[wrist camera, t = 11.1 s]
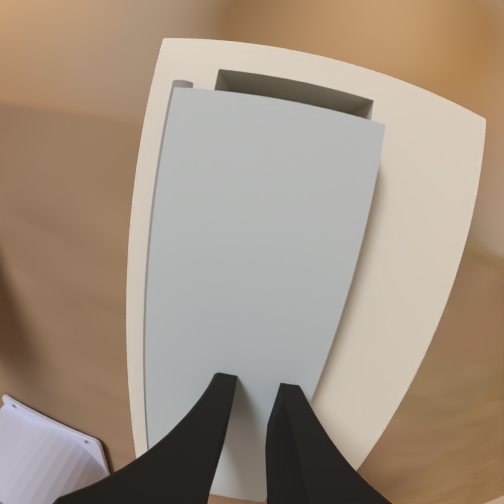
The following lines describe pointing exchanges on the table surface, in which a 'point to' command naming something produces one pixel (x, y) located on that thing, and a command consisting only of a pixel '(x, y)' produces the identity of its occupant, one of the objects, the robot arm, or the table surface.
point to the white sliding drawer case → (376, 232)
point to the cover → (249, 259)
